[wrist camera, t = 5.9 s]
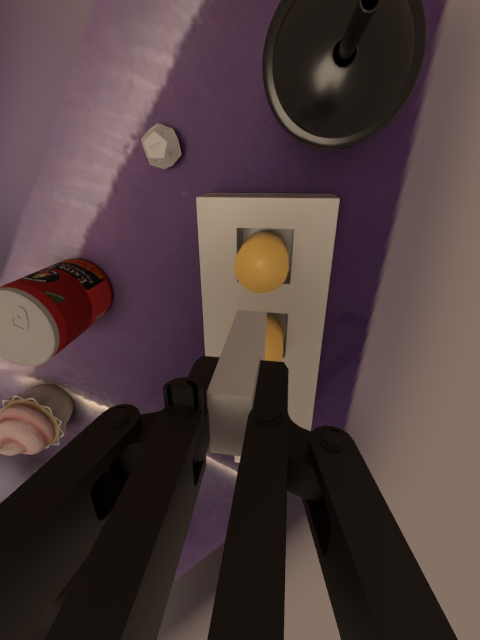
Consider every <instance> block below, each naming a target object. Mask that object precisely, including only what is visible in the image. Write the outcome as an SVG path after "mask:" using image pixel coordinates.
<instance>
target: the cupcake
mask: <svg viewBox="0 0 480 640" xmlns="http://www.w3.org/2000/svg"><path fill="white" fill-rule="evenodd" d="M2 403H3V407H4V408H2V409H0V453H1V454H3V455H8V456H13V455H16V454H20V453H22V454H29V455H33V454H37V453H39V452H40V451H42V450H43V449H44V448H46V449H47V448H49V446H50V445H59V444H60V440H61V437H63V436H64V433H65V428H66V424H67V422H68V420H69V419H70V417H71V415H72V412H73V402H72V400H71V398H70V396H69V395H68V394H67V393H66V392H65V391H64V390H62V389H61V388H59V387H57V386H54V385H50V384H44V385H39V386H37V387H35V388H33V389H31V390H30V391H28V392H26V393H24V394H19V395H15V396H13V398H9V399H6V400H2Z"/></svg>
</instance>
